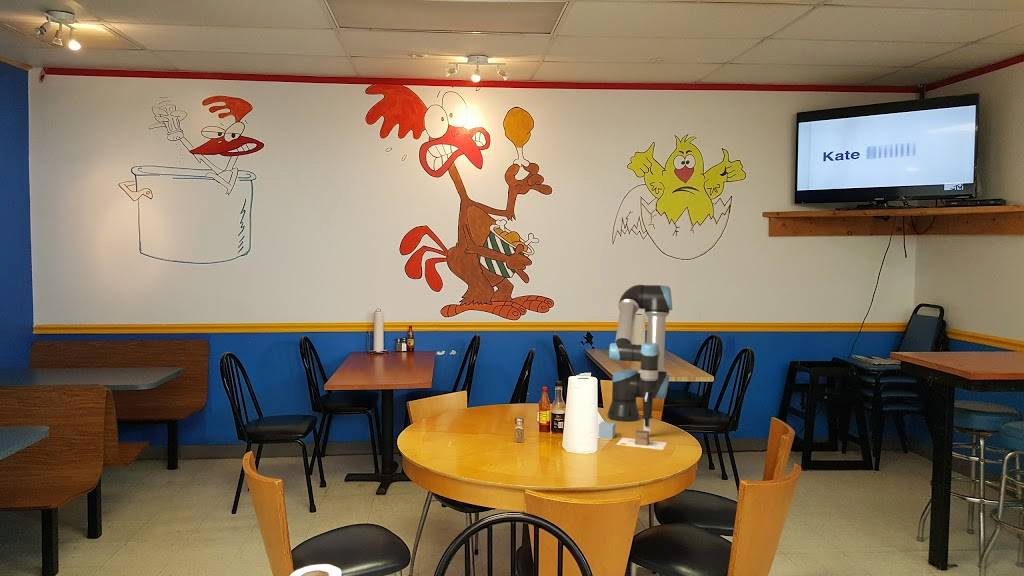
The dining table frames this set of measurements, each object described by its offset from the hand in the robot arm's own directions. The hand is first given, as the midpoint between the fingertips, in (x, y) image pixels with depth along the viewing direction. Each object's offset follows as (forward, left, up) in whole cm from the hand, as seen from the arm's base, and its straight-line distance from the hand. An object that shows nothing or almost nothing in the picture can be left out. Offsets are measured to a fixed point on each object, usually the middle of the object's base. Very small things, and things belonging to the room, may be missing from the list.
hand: (646, 433), depth 327 cm
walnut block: (+12, 0, -2) cm, 12 cm away
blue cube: (+7, -16, -2) cm, 18 cm away
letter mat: (+12, 0, -2) cm, 12 cm away
